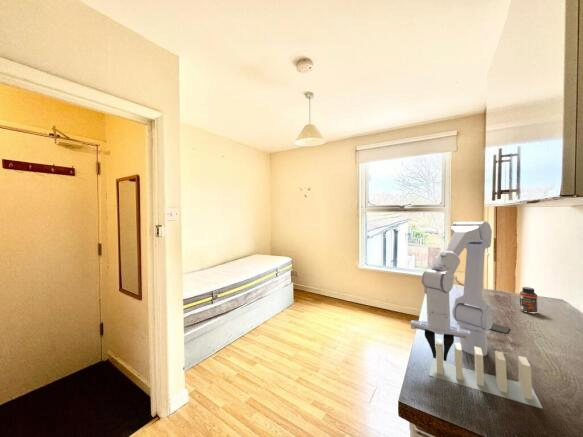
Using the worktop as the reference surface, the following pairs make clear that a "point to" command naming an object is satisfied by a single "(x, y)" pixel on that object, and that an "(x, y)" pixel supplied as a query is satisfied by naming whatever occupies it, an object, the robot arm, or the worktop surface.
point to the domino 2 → (479, 366)
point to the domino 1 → (458, 361)
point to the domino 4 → (525, 377)
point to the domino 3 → (501, 371)
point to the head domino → (439, 355)
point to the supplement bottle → (528, 300)
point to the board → (489, 383)
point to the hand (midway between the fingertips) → (439, 358)
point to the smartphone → (500, 329)
